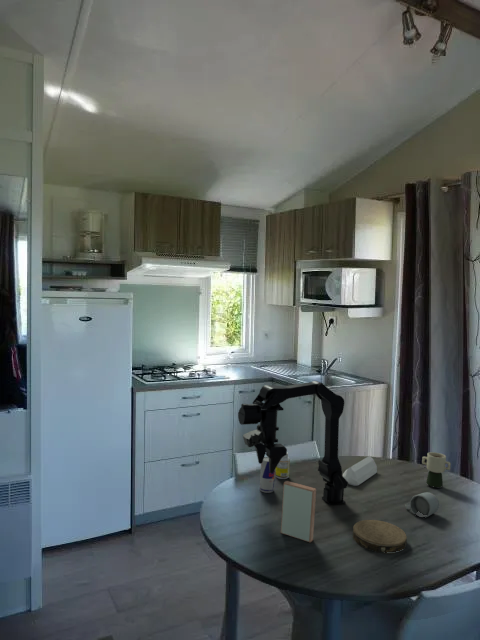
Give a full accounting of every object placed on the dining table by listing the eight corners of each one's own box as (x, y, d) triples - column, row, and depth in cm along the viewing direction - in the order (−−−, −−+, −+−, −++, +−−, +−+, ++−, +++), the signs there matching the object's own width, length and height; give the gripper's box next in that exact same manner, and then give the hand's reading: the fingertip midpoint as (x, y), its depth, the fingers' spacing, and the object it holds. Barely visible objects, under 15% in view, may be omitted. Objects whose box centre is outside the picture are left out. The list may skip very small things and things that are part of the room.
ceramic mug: (440, 515, 175) (441, 493, 174) (429, 521, 169) (431, 499, 169) (411, 505, 182) (412, 484, 182) (400, 511, 176) (401, 489, 176)
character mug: (450, 487, 202) (452, 455, 201) (446, 492, 196) (449, 460, 195) (422, 480, 208) (424, 449, 207) (418, 485, 202) (420, 454, 201)
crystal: (361, 480, 194) (383, 464, 213) (346, 466, 197) (370, 453, 217) (351, 493, 196) (374, 477, 216) (337, 480, 200) (361, 465, 219)
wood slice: (348, 527, 162) (349, 518, 162) (397, 530, 162) (398, 521, 161) (358, 552, 146) (359, 542, 146) (412, 556, 146) (413, 546, 146)
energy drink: (272, 494, 185) (274, 462, 184) (258, 492, 186) (260, 460, 185) (274, 488, 190) (276, 457, 189) (260, 486, 191) (262, 456, 190)
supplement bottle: (280, 473, 206) (281, 449, 206) (291, 477, 203) (292, 452, 202) (272, 476, 202) (273, 452, 202) (283, 480, 199) (285, 455, 198)
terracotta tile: (283, 530, 157) (286, 480, 156) (313, 539, 152) (316, 488, 151) (280, 533, 155) (283, 483, 154) (309, 543, 150) (313, 491, 149)
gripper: (236, 417, 175) (234, 460, 176) (257, 431, 158) (254, 480, 158) (265, 415, 179) (262, 458, 180) (288, 430, 162) (286, 477, 163)
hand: (265, 468), depth 170 cm, fingers open, 9 cm apart
